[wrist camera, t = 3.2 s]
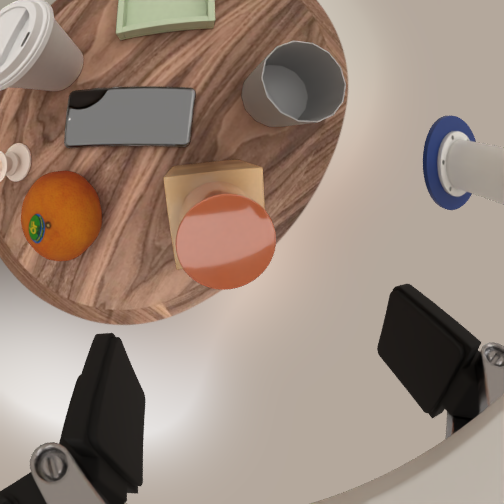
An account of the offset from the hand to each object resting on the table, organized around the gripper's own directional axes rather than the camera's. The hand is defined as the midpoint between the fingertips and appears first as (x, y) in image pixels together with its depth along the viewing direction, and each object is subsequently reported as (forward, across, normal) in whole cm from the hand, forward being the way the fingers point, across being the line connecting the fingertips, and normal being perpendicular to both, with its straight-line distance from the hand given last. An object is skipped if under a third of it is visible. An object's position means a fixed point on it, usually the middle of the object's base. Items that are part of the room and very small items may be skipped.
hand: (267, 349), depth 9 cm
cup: (+28, -9, -12) cm, 32 cm away
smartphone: (+28, +9, -11) cm, 31 cm away
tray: (+28, +4, -28) cm, 39 cm away
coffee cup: (+28, +18, -20) cm, 39 cm away
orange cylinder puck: (+16, 0, 0) cm, 16 cm away
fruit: (+28, +18, -1) cm, 33 cm away
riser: (+28, 0, 0) cm, 28 cm away
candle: (+28, +26, -9) cm, 39 cm away
